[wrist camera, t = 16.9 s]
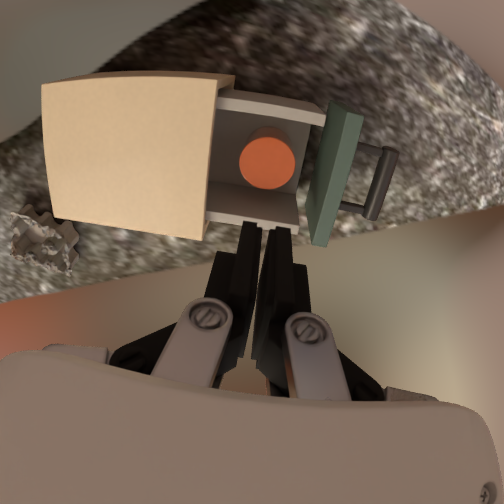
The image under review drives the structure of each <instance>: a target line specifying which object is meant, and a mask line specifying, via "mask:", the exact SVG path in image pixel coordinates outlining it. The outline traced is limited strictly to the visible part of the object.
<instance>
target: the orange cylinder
mask: <svg viewBox="0 0 504 504" xmlns="http://www.w3.org/2000/svg"><path fill="white" fill-rule="evenodd" d="M295 165H296V163H295V156H294V151H293V146H292V142H291V140H290V138H289V136H288V135H287V134H286V133H285V132H284V131H282V130H281V129H279V128H276V127H272V126H265V127H261V128H258V129H256V130H254V131H253V132H252V133H251V134H250V135H249V136H248V137H247V139H246V142H245V144H244V147H243V149H242V152H241V155H240V159H239V167H240V171H241V173H242V175H243V177H244V178H245V179H246V180H247V181H248V182H249V183H250V184H251V185H253V186H255V187H257V188H261V189H275V188H278V187H280V186H282V185H284V184H285V183H287V182H288V181H289V180H290V178H291V177H292V175H293V173H294V171H295Z"/></svg>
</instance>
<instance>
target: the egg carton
mask: <svg viewBox="0 0 504 504" xmlns="http://www.w3.org/2000/svg"><path fill="white" fill-rule="evenodd" d="M10 220H12V226H11V229H12V230H13V229H14V235H13V238H12V240H11V247H12V254H10V255H11V256H12V257H15V259H17V260H20V261H21V262H25V263H27V262H29V261H30V262H32V263H34V264H35V265H36V266H39V265H40V266H42V267H45V268H47V269H48V270H50V271H54V272H60V273H64V274H66V275H67V276H68V277H70V275H71V273H72V267H73V266H74V265H75V263H76V262H77V261H78V260H79V253H77V252H76V251H75V250H74V248H73V246H74V245H75V244H76V242H77V241H78V240H79V234H78V233H77V232H76V231H75V229H74V227H73V224H72V222H70V221H67V220H66V221H65V222H64V223H63V224H62V225H59V224H57V223H56V222H55V221H54V219H53V217H52V214H51V213H49V212H45V213H44V214H43V215H42V216H38V215H37V214H36V213H35V211H34V207H33V206H32V205H29V204H27V205H26V206H25V207H24V208H23V209H22V210H20V211H19V212H18V213H17V214H16V213H13V212H11V218H10Z"/></svg>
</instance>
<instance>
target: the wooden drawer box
mask: <svg viewBox="0 0 504 504" xmlns="http://www.w3.org/2000/svg"><path fill="white" fill-rule="evenodd" d="M234 82H235V75H227V74H216V73H204V72H187V71H117V72H101V73H93V74H87V75H82V76H76V77H72V78H67V79H63V80H58V81H53V82H49V83H45V84H42V125H43V140H44V151H45V161H46V169H47V177H48V184H49V190H50V196H51V202H52V208H53V213H54V217H55V218H61V219H68V220H74V221H81V222H87V223H93V224H100V225H106V226H112V227H119V228H125V229H131V230H138V231H144V232H150V233H157V234H163V235H169V236H176V237H182V238H188V239H194V240H201V241H202V239H203V237H204V234H205V232H206V229H207V226H208V224H209V221H210V220H205V214H206V201H207V189H208V178H209V167H210V157H211V147H212V138H213V128H214V120H215V111H216V103H217V95H218V89H220V88H223V89H232V90H233V89H234Z"/></svg>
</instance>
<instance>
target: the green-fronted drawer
mask: <svg viewBox="0 0 504 504" xmlns="http://www.w3.org/2000/svg"><path fill="white" fill-rule="evenodd" d="M363 121H364V116H363V115H362V114H360V113H359V112H357V111H355V110H354V109H352V108H350V107H349V106H347V105H345V104H344V103H341V102H337V101H333V100H330V101H329V105H328V110H327V115H326V114H325V113H324V112H323V111H322V110H321V109H320V108H319V107H317V106H316V105H315V104H314V103H310V102H306V101H301V100H296V99H291V98H285V97H280V96H274V95H268V94H262V93H255V92H248V91H240V90H232V89H223V88H220V89H218V95H217V103H216V111H215V120H214V128H213V138H212V147H211V157H210V167H209V178H208V189H207V201H206V214H205V220H210V221H217V222H223V223H230V224H236V225H242V224H243V220H244V221H250V222H256V223H257V227H262V229H267V230H270V229H275V228H276V226H280V227H286V228H291V234H296V235H297V234H298V230H299V227H300V225H299V217H298V209H297V201H296V191H297V187H298V183H299V178H300V174H301V169H302V165H303V161H304V156H305V152H306V147H307V142H308V138H309V133H310V129H311V124H314V125H319V126H324V128H323V132H322V137H321V141H320V145H319V150H318V154H317V158H316V162H315V167H314V171H313V175H312V179H311V183H310V187H309V191H308V195H307V199H306V203H305V208H306V214H307V220H308V226H309V232H310V238H311V244H312V245H314V246H320V247H327V244H328V241H329V238H330V235H331V232H332V228H333V225H334V222H335V219H336V216H337V213H338V210H344V211H349V212H354V213H358V214H362V216H363V217H364V218H366V219H368V220H371V221H376V220H377V218H378V215H379V213H380V210H381V207H382V204H383V202H384V199H385V196H386V193H387V190H388V187H389V184H390V181H391V178H392V175H393V172H394V169H395V166H396V163H397V160H398V157H399V154H400V153H399V151H397V150H396V149H393V148H391V147H388V146H383V147H382V148H380V147H376V146H373V145H369V144H365V143H362V142H358V140H359V136H360V132H361V128H362V125H363ZM265 126H272V127H276V128H279V129H281V130H282V131H284V132H285V133H286V134H287V135H288V136H289V138H290V140H291V142H292V146H293V151H294V156H295V163H296V165H295V171H294V173H293V175H292V177H291V178H290V180H289V181H288V182H287V183H285V184H284V185H282V186H280V187H278V188H275V189H261V188H257V187H255V186H253V185H251V184H250V183H249V182H248V181H247V180H246V179H245V178H244V177H243V175H242V173H241V171H240V167H239V159H240V155H241V152H242V149H243V147H244V144H245V142H246V139H247V137H248V136H249V135H250V134H251V133H252V132H253V131H254V130H256V129H258V128H261V127H265ZM356 150H357V151H361V152H365V153H368V154H372V155H376V156H379V160H378V164H377V167H376V170H375V173H374V177H373V180H372V183H371V186H370V189H369V192H368V195H367V198H366V201H365V204H364V206H363V205H359V204H355V203H350V202H346V201H341V200H342V196H343V193H344V190H345V186H346V183H347V180H348V176H349V173H350V169H351V166H352V162H353V158H354V155H355V151H356Z"/></svg>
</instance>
